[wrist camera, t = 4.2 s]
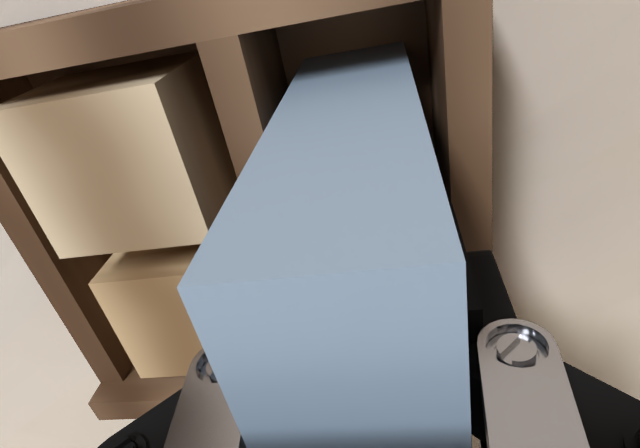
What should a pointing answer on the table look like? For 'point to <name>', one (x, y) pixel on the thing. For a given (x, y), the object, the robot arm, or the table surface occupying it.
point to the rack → (248, 117)
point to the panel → (339, 271)
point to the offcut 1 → (120, 156)
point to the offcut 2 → (149, 308)
